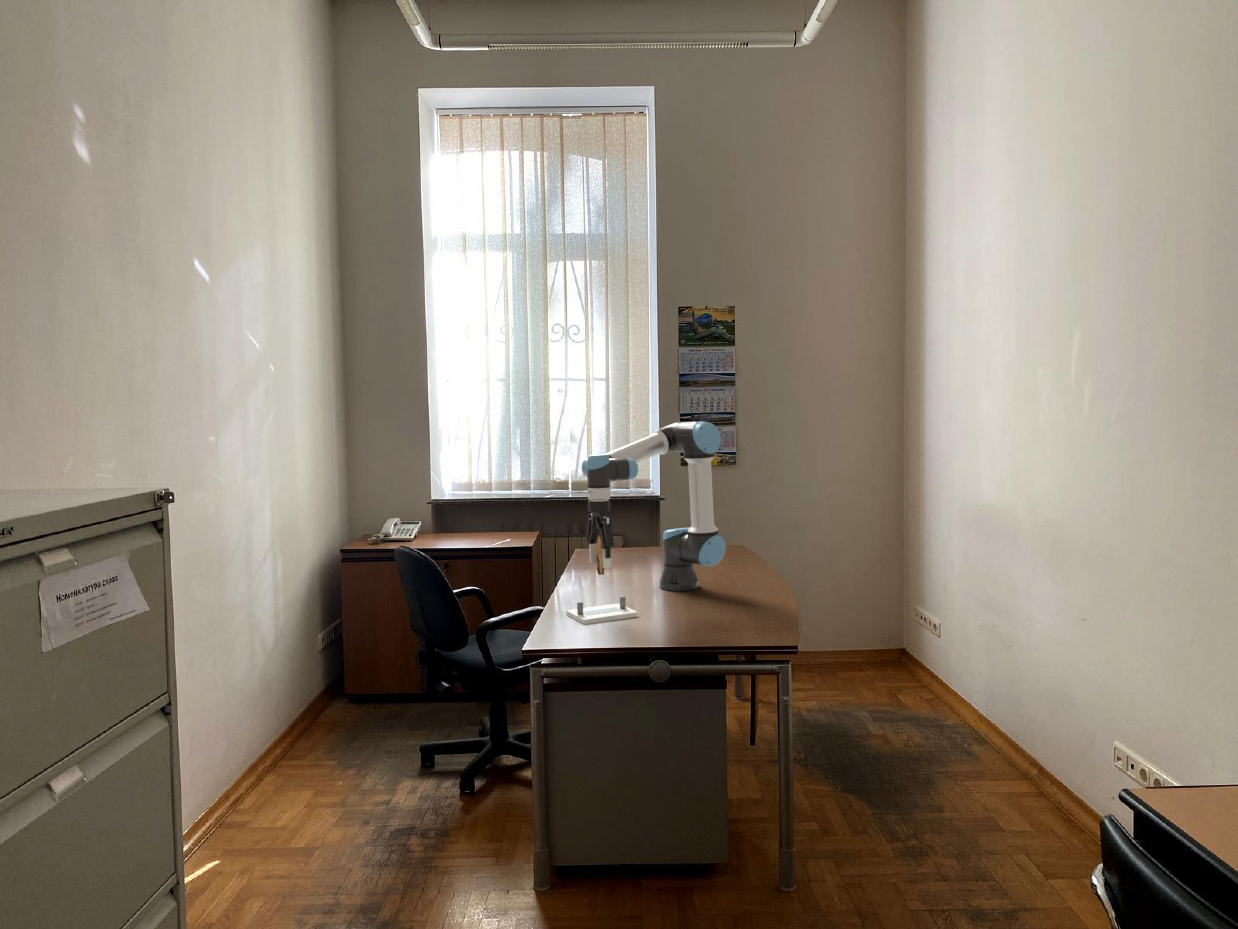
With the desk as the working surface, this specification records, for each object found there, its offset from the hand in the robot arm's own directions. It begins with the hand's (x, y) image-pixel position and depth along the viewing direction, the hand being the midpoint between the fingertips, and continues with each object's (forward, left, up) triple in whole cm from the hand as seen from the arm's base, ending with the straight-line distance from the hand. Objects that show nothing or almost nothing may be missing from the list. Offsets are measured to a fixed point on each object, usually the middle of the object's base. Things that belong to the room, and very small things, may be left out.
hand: (600, 565), depth 292 cm
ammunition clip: (0, 0, -2) cm, 2 cm away
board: (0, 0, -17) cm, 17 cm away
